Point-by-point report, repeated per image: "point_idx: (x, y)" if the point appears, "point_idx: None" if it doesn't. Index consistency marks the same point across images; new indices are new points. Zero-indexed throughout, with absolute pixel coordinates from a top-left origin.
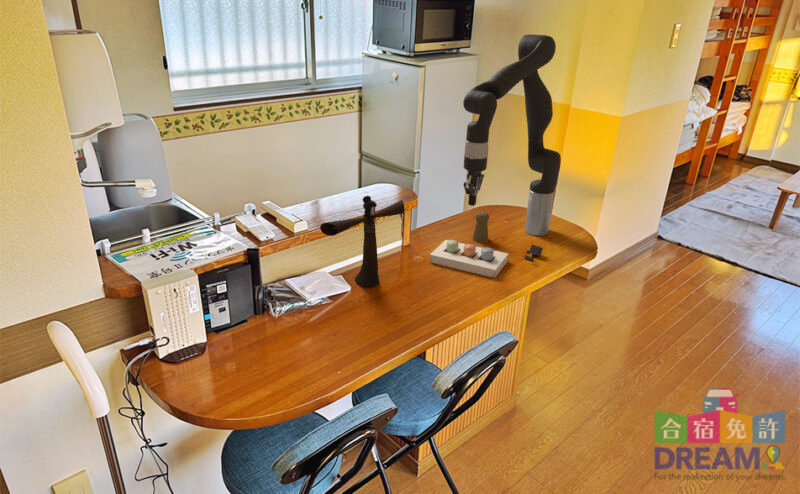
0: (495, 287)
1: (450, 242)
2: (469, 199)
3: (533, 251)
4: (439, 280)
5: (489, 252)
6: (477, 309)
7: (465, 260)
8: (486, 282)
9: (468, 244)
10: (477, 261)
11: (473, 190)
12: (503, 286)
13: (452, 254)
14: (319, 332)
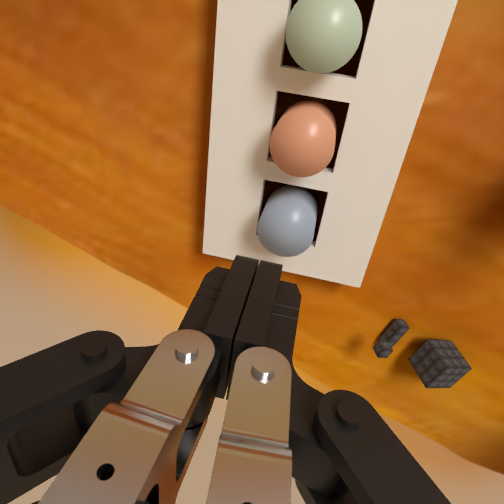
0: (153, 244)
1: (318, 18)
2: (192, 304)
3: (423, 357)
4: (94, 37)
5: (265, 242)
6: (13, 209)
7: (232, 130)
8: (170, 215)
9: (323, 134)
10: (243, 182)
11: (58, 464)
12: (171, 264)
13: (272, 47)
14: None
